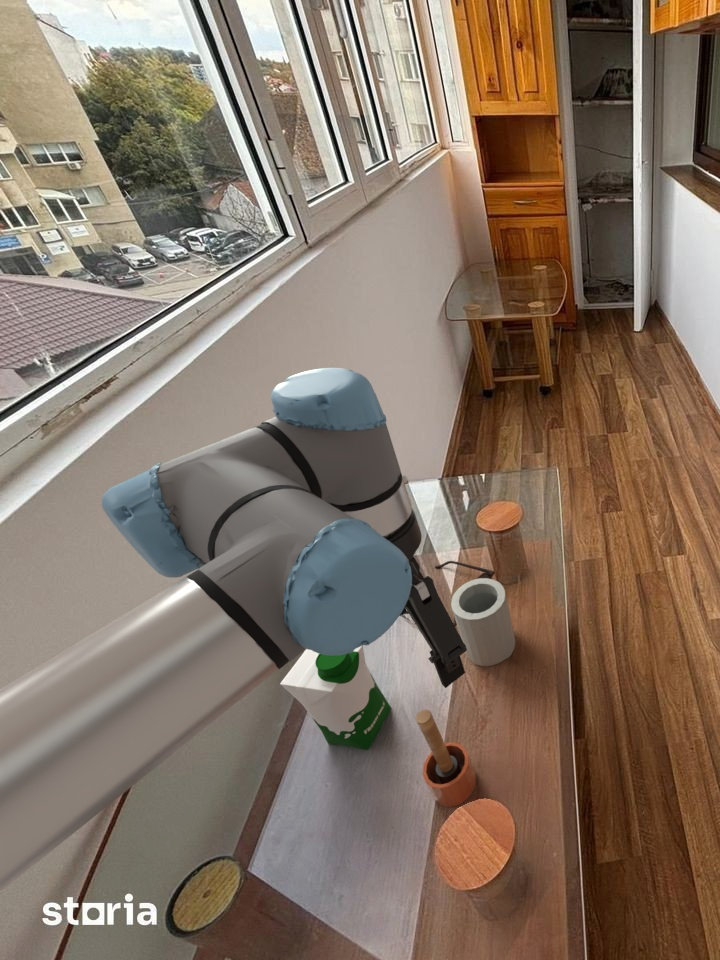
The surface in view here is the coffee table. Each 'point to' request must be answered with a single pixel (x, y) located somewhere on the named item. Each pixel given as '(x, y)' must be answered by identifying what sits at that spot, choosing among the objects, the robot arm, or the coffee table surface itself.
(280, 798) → the coffee table surface
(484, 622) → the cup
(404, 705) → the coffee table surface
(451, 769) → the brush
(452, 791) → the holder
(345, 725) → the milk carton
